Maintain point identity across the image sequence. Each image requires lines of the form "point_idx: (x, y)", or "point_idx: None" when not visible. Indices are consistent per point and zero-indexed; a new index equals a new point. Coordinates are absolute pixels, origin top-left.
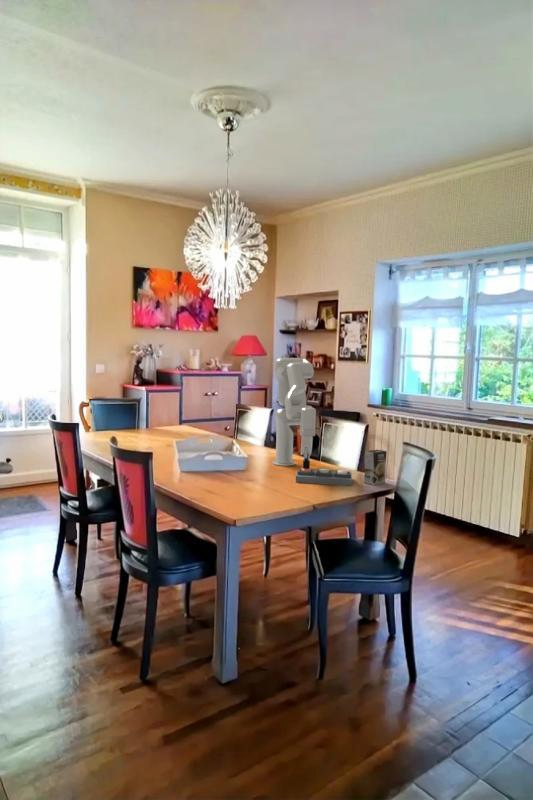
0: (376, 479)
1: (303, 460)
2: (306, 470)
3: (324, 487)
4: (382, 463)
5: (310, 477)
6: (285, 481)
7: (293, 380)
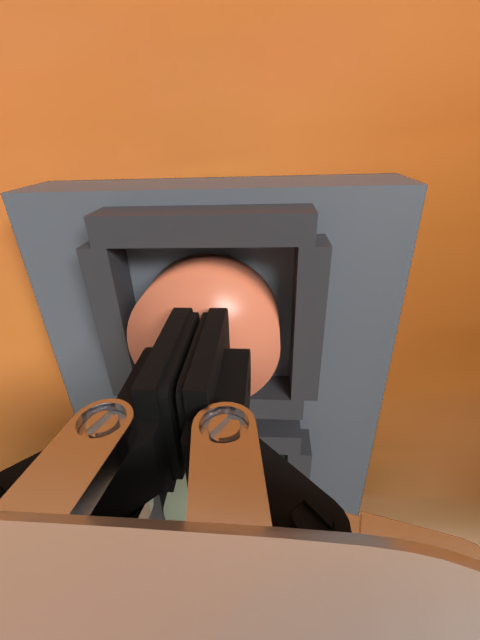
0: None
1: (151, 394)
2: (134, 347)
3: (18, 429)
4: None
5: (60, 363)
6: (15, 25)
7: None
